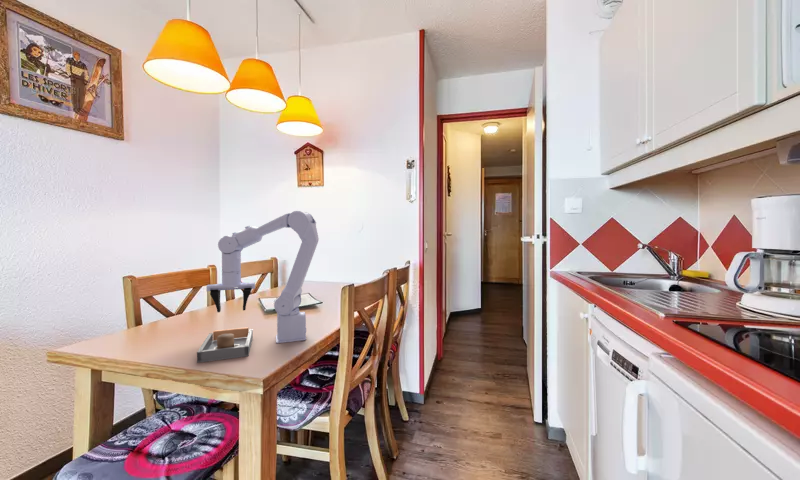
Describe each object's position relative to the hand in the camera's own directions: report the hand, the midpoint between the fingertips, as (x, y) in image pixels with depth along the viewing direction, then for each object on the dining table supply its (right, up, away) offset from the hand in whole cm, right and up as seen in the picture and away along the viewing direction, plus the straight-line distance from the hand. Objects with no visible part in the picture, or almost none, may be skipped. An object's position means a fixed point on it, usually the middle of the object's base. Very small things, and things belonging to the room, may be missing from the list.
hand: (231, 310), depth 107 cm
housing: (+4, -10, -9) cm, 14 cm away
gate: (+1, -9, -2) cm, 9 cm away
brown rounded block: (+5, -10, -13) cm, 17 cm away
